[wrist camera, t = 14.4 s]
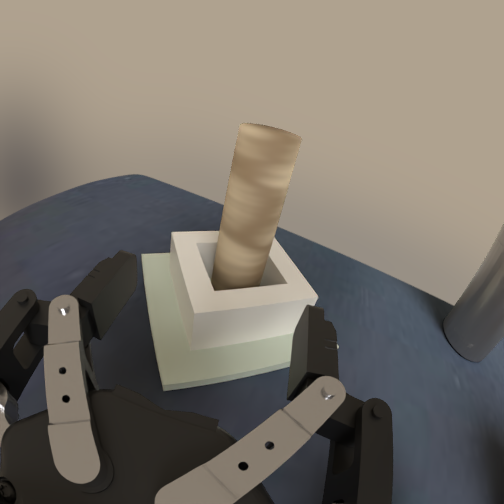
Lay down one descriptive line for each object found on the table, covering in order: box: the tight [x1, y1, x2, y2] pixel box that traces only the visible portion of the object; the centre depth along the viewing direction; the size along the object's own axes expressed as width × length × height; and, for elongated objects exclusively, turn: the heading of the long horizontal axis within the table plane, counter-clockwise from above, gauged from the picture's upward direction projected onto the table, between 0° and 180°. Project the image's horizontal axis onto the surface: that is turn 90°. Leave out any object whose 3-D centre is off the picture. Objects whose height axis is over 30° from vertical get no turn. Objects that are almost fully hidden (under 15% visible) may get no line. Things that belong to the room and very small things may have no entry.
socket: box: [142, 231, 339, 391], centre depth 26 cm, size 16×16×6 cm
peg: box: [211, 123, 302, 291], centre depth 23 cm, size 4×4×16 cm
